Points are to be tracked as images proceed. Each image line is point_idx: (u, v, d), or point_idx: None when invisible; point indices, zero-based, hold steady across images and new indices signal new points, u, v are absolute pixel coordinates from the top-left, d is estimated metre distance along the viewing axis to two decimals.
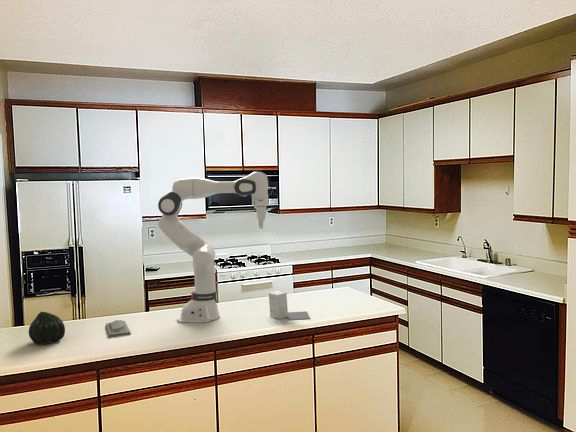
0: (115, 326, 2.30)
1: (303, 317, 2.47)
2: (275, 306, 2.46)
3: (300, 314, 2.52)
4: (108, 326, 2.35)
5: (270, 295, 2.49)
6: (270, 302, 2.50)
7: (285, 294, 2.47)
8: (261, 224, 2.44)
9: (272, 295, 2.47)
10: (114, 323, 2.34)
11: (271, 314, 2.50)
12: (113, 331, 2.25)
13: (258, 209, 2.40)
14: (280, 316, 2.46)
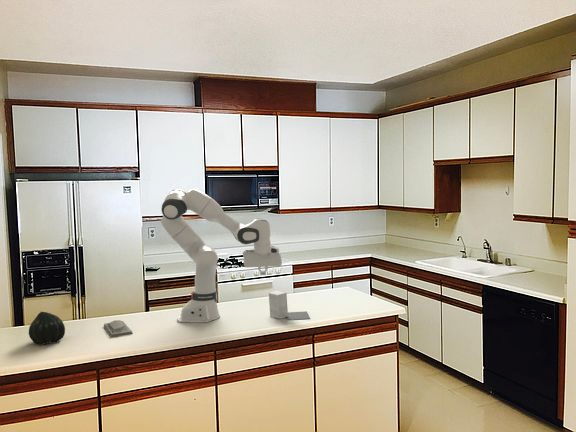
0: (115, 326, 2.30)
1: (303, 317, 2.47)
2: (275, 306, 2.46)
3: (300, 314, 2.52)
4: (107, 326, 2.34)
5: (270, 295, 2.49)
6: (270, 302, 2.50)
7: (285, 294, 2.47)
8: (266, 270, 2.47)
9: (272, 295, 2.48)
10: (114, 323, 2.34)
11: (271, 314, 2.50)
12: (115, 331, 2.25)
13: (280, 255, 2.46)
14: (280, 316, 2.46)
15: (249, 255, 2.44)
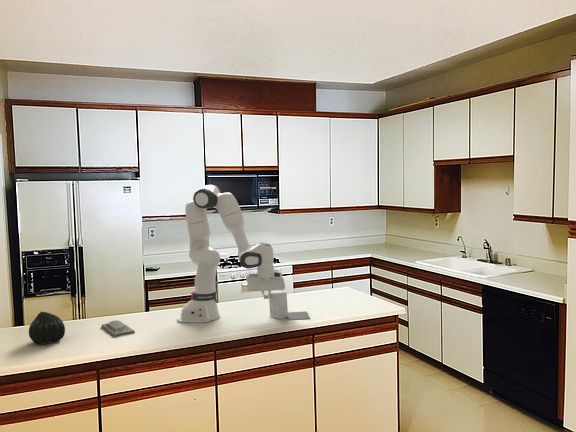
0: (116, 326, 2.30)
1: (303, 317, 2.47)
2: (275, 306, 2.46)
3: (300, 314, 2.52)
4: (106, 327, 2.33)
5: (270, 295, 2.49)
6: (270, 302, 2.50)
7: (285, 294, 2.47)
8: None
9: (272, 295, 2.48)
10: (113, 323, 2.34)
11: (271, 314, 2.50)
12: (117, 331, 2.26)
13: (283, 279, 2.47)
14: (280, 316, 2.46)
15: (252, 279, 2.45)
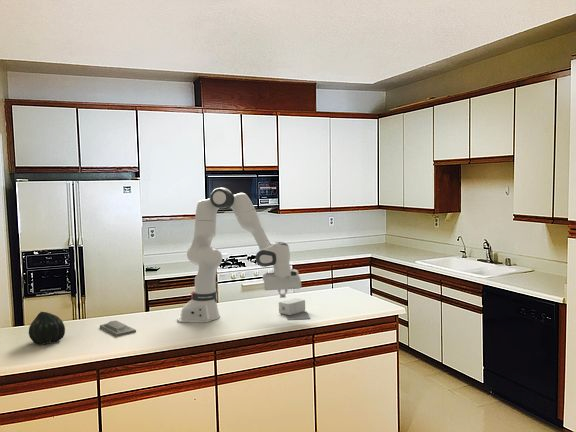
0: (116, 326, 2.30)
1: (303, 317, 2.47)
2: (294, 301, 2.55)
3: (300, 314, 2.52)
4: (106, 327, 2.33)
5: (295, 298, 2.62)
6: (290, 299, 2.60)
7: (304, 309, 2.58)
8: None
9: (298, 299, 2.61)
10: (113, 324, 2.34)
11: (281, 301, 2.55)
12: (118, 330, 2.26)
13: (299, 277, 2.48)
14: (290, 305, 2.50)
15: (269, 278, 2.46)
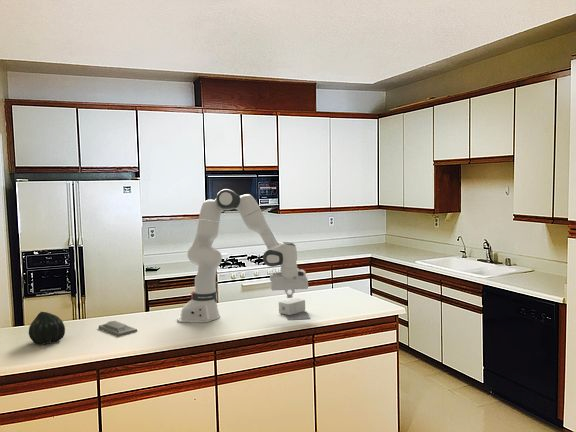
0: (117, 326, 2.30)
1: (303, 317, 2.47)
2: (294, 301, 2.55)
3: (300, 314, 2.52)
4: (106, 327, 2.32)
5: (295, 298, 2.62)
6: (290, 299, 2.60)
7: (304, 309, 2.58)
8: None
9: (298, 299, 2.61)
10: (113, 324, 2.34)
11: (281, 301, 2.55)
12: (120, 330, 2.26)
13: None
14: (290, 305, 2.50)
15: (276, 278, 2.46)
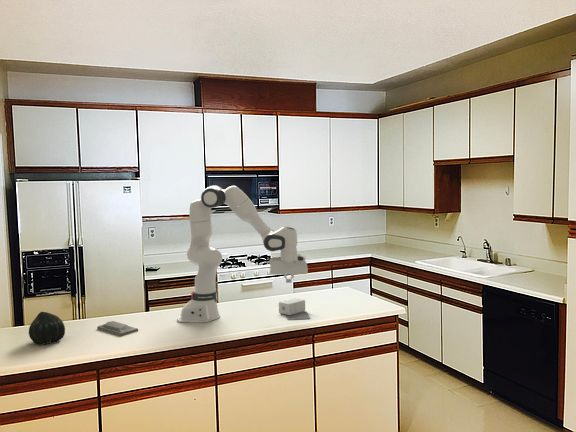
0: (117, 326, 2.30)
1: (303, 317, 2.47)
2: (294, 301, 2.55)
3: (300, 314, 2.52)
4: (105, 328, 2.32)
5: (295, 298, 2.62)
6: (290, 299, 2.60)
7: (304, 309, 2.58)
8: None
9: (298, 299, 2.61)
10: (112, 324, 2.33)
11: (281, 301, 2.55)
12: (121, 330, 2.27)
13: (306, 263, 2.48)
14: (290, 305, 2.50)
15: (276, 262, 2.46)
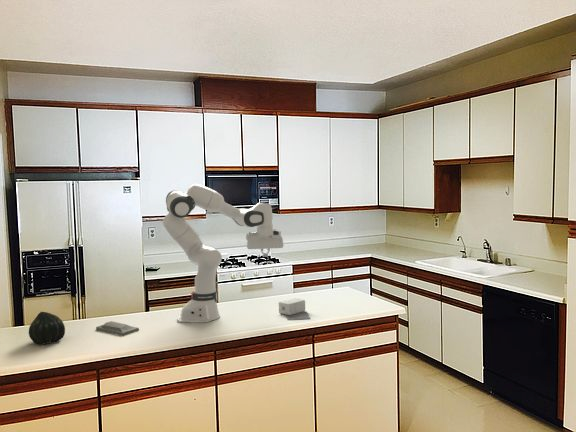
0: (118, 326, 2.31)
1: (303, 317, 2.47)
2: (294, 301, 2.55)
3: (300, 314, 2.52)
4: (105, 328, 2.31)
5: (295, 298, 2.62)
6: (290, 299, 2.60)
7: (304, 309, 2.58)
8: (268, 252, 2.58)
9: (298, 299, 2.61)
10: (112, 324, 2.33)
11: (281, 301, 2.55)
12: (122, 330, 2.27)
13: None
14: (290, 305, 2.50)
15: (252, 237, 2.54)
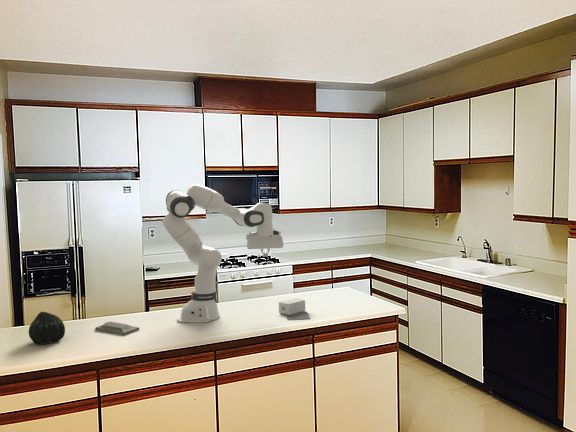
0: (118, 326, 2.31)
1: (303, 317, 2.47)
2: (294, 301, 2.55)
3: (300, 314, 2.52)
4: (105, 328, 2.31)
5: (295, 298, 2.62)
6: (290, 299, 2.60)
7: (304, 309, 2.58)
8: (268, 252, 2.58)
9: (298, 299, 2.61)
10: (112, 324, 2.33)
11: (281, 301, 2.55)
12: (123, 329, 2.27)
13: None
14: (290, 305, 2.50)
15: (252, 237, 2.54)
